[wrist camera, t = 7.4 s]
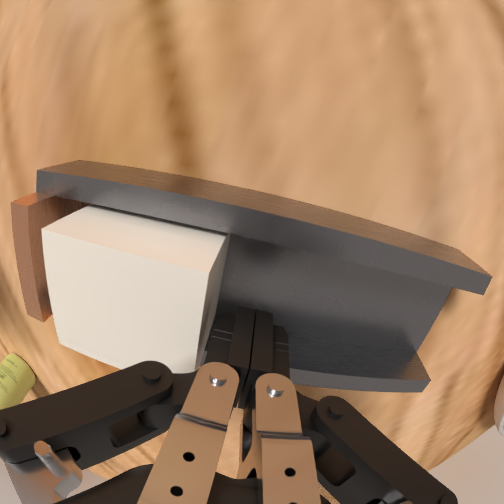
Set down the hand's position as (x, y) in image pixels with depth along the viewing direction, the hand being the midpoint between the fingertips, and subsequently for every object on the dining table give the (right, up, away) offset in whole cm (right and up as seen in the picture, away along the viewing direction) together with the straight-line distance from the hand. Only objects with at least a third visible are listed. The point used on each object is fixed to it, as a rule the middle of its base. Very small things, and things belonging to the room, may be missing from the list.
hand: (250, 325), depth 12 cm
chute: (+1, +2, +5) cm, 5 cm away
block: (-5, +3, +4) cm, 7 cm away
